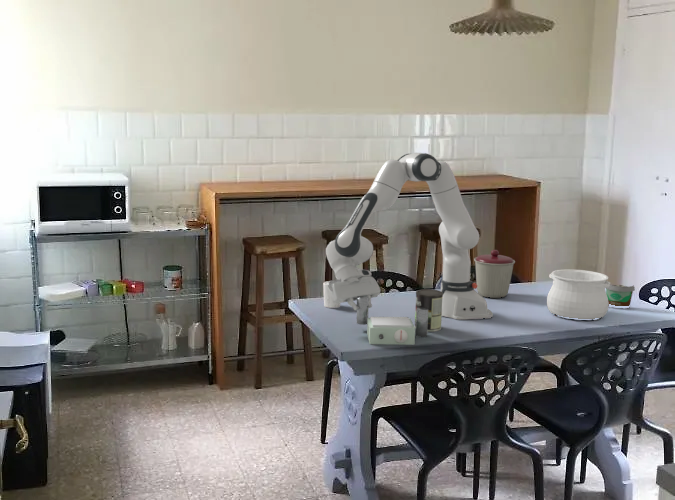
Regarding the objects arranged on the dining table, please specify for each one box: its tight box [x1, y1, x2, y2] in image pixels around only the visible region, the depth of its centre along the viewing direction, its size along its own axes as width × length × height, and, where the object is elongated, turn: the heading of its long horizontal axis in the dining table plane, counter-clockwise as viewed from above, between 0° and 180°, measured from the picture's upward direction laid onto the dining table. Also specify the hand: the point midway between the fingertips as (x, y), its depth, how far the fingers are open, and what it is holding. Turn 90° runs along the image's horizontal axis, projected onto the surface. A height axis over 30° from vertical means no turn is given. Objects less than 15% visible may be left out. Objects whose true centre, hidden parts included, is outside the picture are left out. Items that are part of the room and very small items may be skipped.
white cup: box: [322, 280, 341, 309], centre depth 327 cm, size 8×8×10 cm
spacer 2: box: [415, 308, 428, 338], centre depth 288 cm, size 4×4×10 cm
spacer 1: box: [356, 296, 370, 326], centre depth 293 cm, size 4×4×10 cm
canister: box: [473, 249, 516, 299], centre depth 350 cm, size 18×18×21 cm
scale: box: [366, 316, 416, 346], centre depth 282 cm, size 16×14×7 cm
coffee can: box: [414, 288, 443, 333], centre depth 298 cm, size 10×10×14 cm
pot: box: [546, 269, 611, 319], centre depth 321 cm, size 26×24×17 cm
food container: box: [605, 284, 636, 306], centre depth 334 cm, size 12×6×10 cm, turn 68°
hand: (363, 308), depth 292 cm, fingers closed on spacer 1, 4 cm apart
